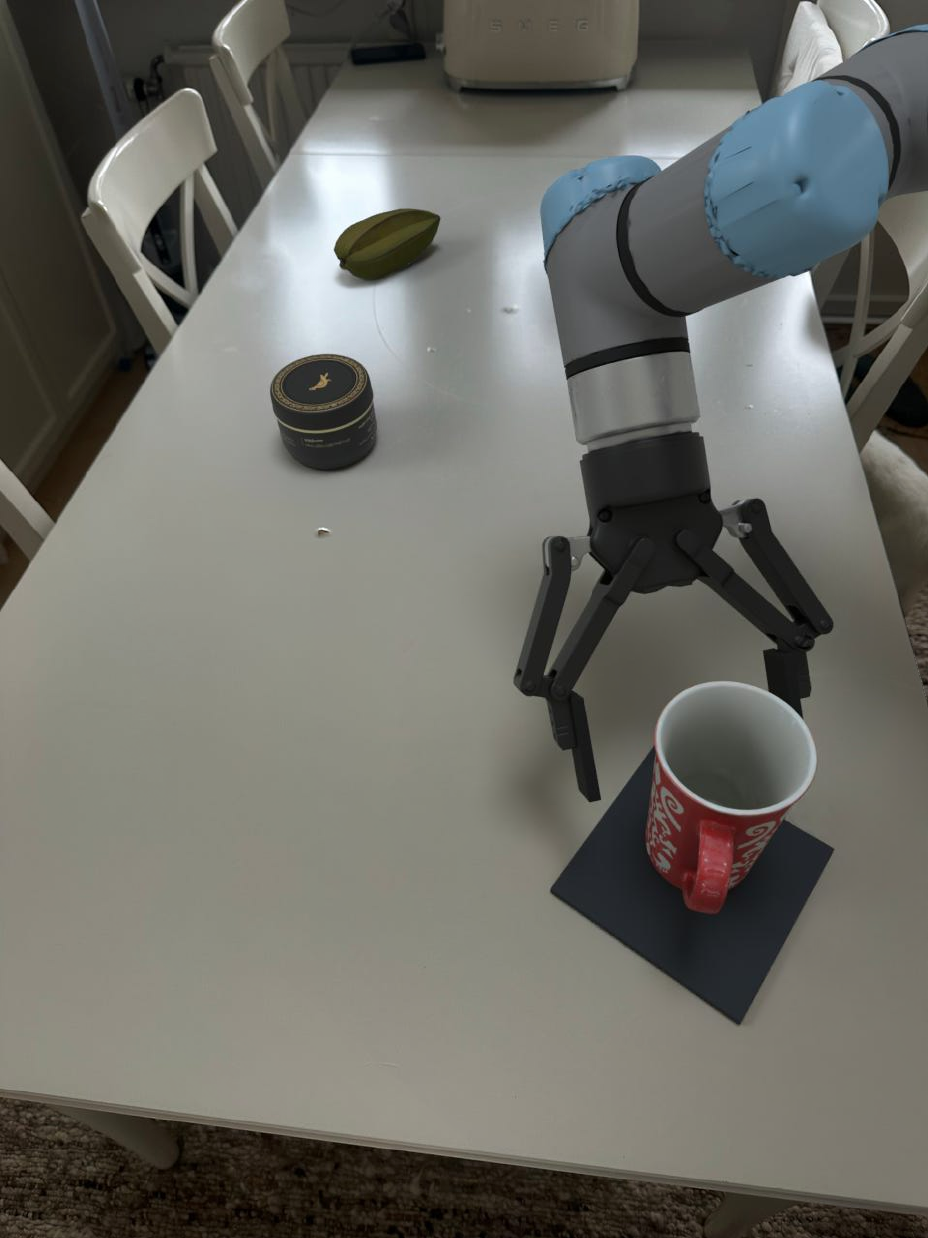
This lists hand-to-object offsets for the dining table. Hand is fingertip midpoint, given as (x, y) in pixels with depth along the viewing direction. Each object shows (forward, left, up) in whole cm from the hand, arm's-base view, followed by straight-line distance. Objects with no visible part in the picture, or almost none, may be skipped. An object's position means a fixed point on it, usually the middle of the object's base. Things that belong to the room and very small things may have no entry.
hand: (692, 772), depth 55 cm
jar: (+49, -17, -8) cm, 53 cm away
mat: (-3, +2, -8) cm, 9 cm away
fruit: (+67, -47, -8) cm, 82 cm away
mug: (-3, +2, -8) cm, 8 cm away
